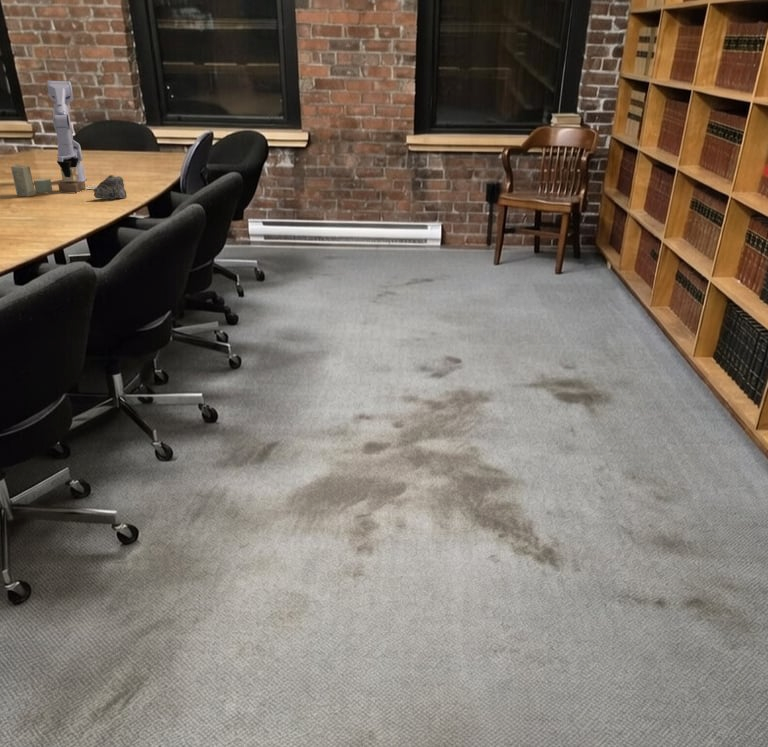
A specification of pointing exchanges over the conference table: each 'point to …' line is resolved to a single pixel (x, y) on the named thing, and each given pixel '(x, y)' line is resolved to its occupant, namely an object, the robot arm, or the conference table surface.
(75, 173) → the maple cube
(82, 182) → the walnut block
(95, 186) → the card
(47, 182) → the sage cube
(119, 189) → the mineral rock
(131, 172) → the conference table surface
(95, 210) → the conference table surface
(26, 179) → the skincare box
